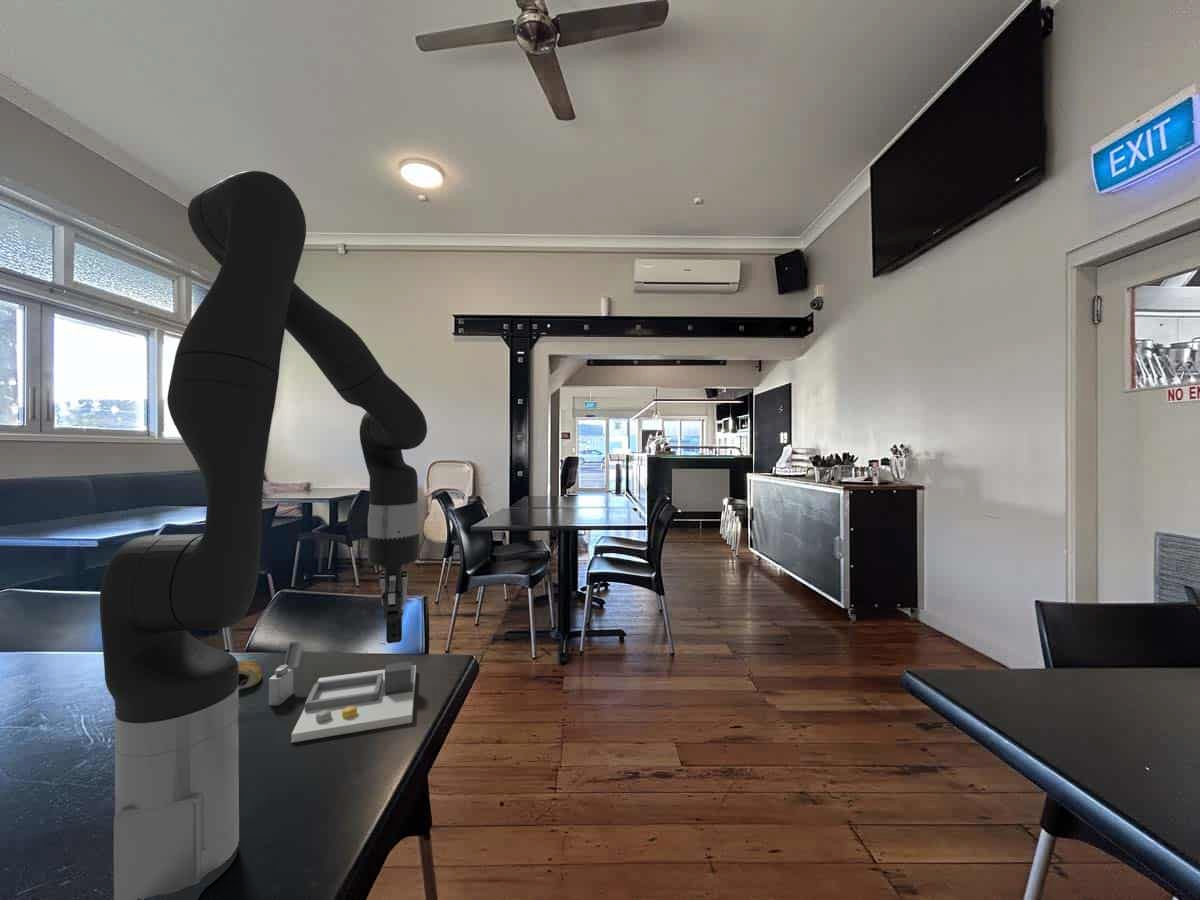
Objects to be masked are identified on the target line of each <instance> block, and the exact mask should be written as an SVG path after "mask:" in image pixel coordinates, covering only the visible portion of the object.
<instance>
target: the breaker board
mask: <svg viewBox="0 0 1200 900" xmlns="http://www.w3.org/2000/svg"><path fill="white" fill-rule="evenodd" d="M385 669H386V668H385ZM385 669H379V670H371V671H370V670H369V671H362V672H355V673H348V674H342V675H341V674H340V675H332V676H325V677H319V678H318V679H317V681H315V682H314V684H313V686H312V689H311V690H310V692H309V695H308V696H307V698H306V700H305V703H304V707H303V710H302V712H301V714H300V716H299V718H298V720H297V722H296V724H295V726H294V729H293V730H292V732H291V735H290V736H291V738H290V739H291V742H290V743H291V744H292V743H299V742H303V741H309V740H315V739H316V740H317V739H322V738H328V737H333V736H339V735H346V734H351V733H359V732H362V731H368V730H369V731H370V730H374V729H375V730H376V729H383V728H387V727H388V728H389V727H393V726H399V725H406V724H411V723H413V715H414V714H413V713H414V703H415V687H416V675H417V666H416V664H415V665H411V690H406V691H399V692H392V693H386V694H385Z"/></svg>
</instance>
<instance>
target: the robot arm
mask: <svg viewBox="0 0 1200 900" xmlns="http://www.w3.org/2000/svg"><path fill="white" fill-rule="evenodd" d="M187 207H188V208H187V218H188V221H189V222H188V223H189V225H190V227H191V230H192V232H193V234H194V235H195V237H196V238H197V240H198V241H199V243H200V244H201V245H202V247H203V248H204V249H205V250H206V251H207V252H208V253H209V254H210V256H211V257H213V259H214V260H216V262H217V264H219V265H220V269H219V271H218V273H217V276H216V278H215V280H214V282H213V284H212V285H211V287H210V288H209V290H208V292H207V293H206V295H205V296H204V298H203V299H202V301H201V302H200V303H199V305H198V307H197V308H196V310H195V312H194V313H193V315H192V317H191V318H190V321H189V322H188V324H187V326H186V328H185V329H184V331H183V334H182V336H181V337H180V340H179V343H178V345H177V349H176V352H175V355H174V360H173V365H172V371H171V375H170V380H169V385H168V390H167V397H166V398H167V401H166V402H167V407H168V408H167V409H168V411H169V414H170V417H171V419H172V421H173V425H174V426H175V428H176V429H177V432H178V434H179V435H180V437H181V439H182V440H183V443H184V445H186V447H187V449H188V451H189V452H190V453H191V456H192V457H193V459H194V461H195V463H196V465H197V466H198V468H199V471H200V473H201V476H202V478H203V481H204V485H205V491H206V513H205V524H204V530H203V533H193V534H192V533H191V534H189V533H187V534H186V533H185V534H184V533H183V534H155V535H145V536H139V537H136V538H133V539H131V540H129V541H127V542H125V543H124V544H123V545H122V546H120V547H119V548H118V549H117V550H116V551H115V552H114V554H113V555H112V557H111V558H110V559H109V562H108V563H107V566H106V568H105V571H104V572H103V573H104V574H103V576H102V581H101V586H100V593H99V616H100V619H99V620H100V628H101V629H100V630H101V631H100V632H101V642H102V653H103V655H102V656H103V666H104V667H103V668H104V671H103V672H104V680H105V685H106V687H107V690H108V692H109V694H110V696H111V697H112V699H113V701H114V714H115V715H114V717H115V718H114V725H115V728H114V729H115V731H114V732H115V733H114V734H115V736H114V737H115V739H114V741H115V743H114V745H115V746H114V755H115V756H114V790H115V792H114V794H115V795H114V799H115V800H114V801H115V802H114V803H115V804H114V810H115V811H114V815H115V816H114V818H113V900H137V899H145V898H148V897H152V896H156V895H161V894H168V893H169V894H170V893H172V892H176V891H179V890H181V889H183V888H185V887H187V886H191V885H195V884H198V883H199V882H200V881H201V879H202V878H203V877H204V876H206V874H208V873H209V872H211V871H212V870H214V869H216V868H218V867H219V866H221V865H222V864H223V863H225V861H226V860H228V859H229V858H230V857H231V856H232V854H233V853H234V851H235V850H236V848H237V846H238V842H239V843H240V811H239V810H240V807H239V804H240V802H239V799H240V798H239V797H240V795H239V788H240V786H239V783H240V782H239V775H240V774H239V690H238V684H239V668H238V662H237V661H238V660H237V658H236V657H235V656H234V655H233V654H231V653H230V652H227V651H225V650H222V649H218V648H216V647H213V646H210V645H208V644H205V643H203V642H201V641H200V640H198V639H197V638H195V637H194V636H193V635H192V634H191V633H190V631H205V630H207V631H209V630H220V629H227V628H230V627H232V626H234V625H236V624H238V623H239V622H240V621H241V620H242V619H243V618H244V617H245V615H246V613H247V612H248V611H249V609H250V606H251V604H252V602H253V599H254V598H255V593H256V589H257V585H258V579H259V574H260V565H261V564H260V562H261V560H260V559H261V549H262V548H261V545H262V543H261V542H262V522H263V521H262V520H263V517H262V515H263V495H264V493H263V491H264V481H265V480H264V479H265V471H266V470H265V469H266V461H267V454H268V446H269V438H270V432H271V429H272V427H271V426H272V422H273V415H274V409H275V406H276V399H277V391H278V385H279V379H280V378H279V377H280V367H281V366H280V365H281V355H282V348H283V342H284V337H285V330H286V331H287V332H288V333H289V334H290V336H292V337H293V339H294V340H295V341H296V342H297V343H298V344H299V345H300V346H301V348H302V349H303V350H304V351H305V352H306V353H307V354H308V355H309V356H310V358H311V360H313V362H314V363H315V364H316V365H317V367H318V368H319V370H320V371H321V372H322V373H323V375H324V376H325V378H326V379H327V380H328V382H329V383H330V384H331V385H332V387H333V388H334V389H335V391H336V392H337V393H338V395H339V396H340V397H341V398H342V399H343V400H344V401H345V402H346V403H348V404H350V405H353V406H356V407H359V408H361V409H363V410H364V411H365V413H364V415H363V416H362V419H361V421H360V425H359V439H360V440H359V441H360V447H361V450H362V455H363V459H364V463H365V466H366V469H367V473H368V477H369V484H368V485H369V505H368V507H369V508H368V515H367V562H368V563H369V565H371V566H375V567H383V568H384V572H382V571H381V572H380V573H381V574H380V577H379V589H380V590H381V606H382V607H383V619H384V621H386V623H385V624H386V628H385V629H386V634H385V635H386V643H388V644H394V643H396V644H397V643H399V642H401V641H402V638H403V616H404V612H405V609H404V606H405V604H406V600H407V586H408V579H409V571H408V569H407V570H404V565H409V564H413V563H415V562H417V561H418V560H419V559H420V510H419V502H418V501H419V494H418V493H419V491H418V490H419V489H418V487H419V485H418V483H419V481H418V473H417V470H416V469H415V467H412V466H411V465H408V464H407V463H406V462H405V460H404V457H403V452H402V451H403V450H404V451H405V450H412V449H415V448H417V447H419V446H421V444H422V443H423V442H424V441H425V440H426V436H427V433H428V425H427V421H426V417H425V414H424V413H423V411H422V410H421V408H420V406H418V404H417V403H416V402H415V401H414V399H412V398H411V396H409V395H408V393H407V392H405V391H404V390H403V389H402V388H401V387H400V386H399V385H398V384H397V383H396V382H395V381H393V380H392V379H391V378H390V377H389V376H388V375H387V374H386V373H385V371H384V370H383V368H382V366H381V365H380V363H379V362H378V360H377V359H376V357H375V356H374V354H373V353H372V351H371V350H370V349H369V347H368V345H367V344H366V343H365V341H364V340H363V339H362V338H361V337H360V335H359V334H358V333H357V332H356V330H354V329H353V328H352V327H350V326H349V325H348V324H347V323H346V322H344V321H343V319H340V318H339V317H338V316H337V315H335V314H333V313H332V311H331V312H330V311H329V310H328V309H327V308H325V307H324V306H322V305H321V304H320V303H318V302H317V301H315V300H314V299H313V298H312V297H311V296H309V295H308V294H307V293H306V292H305V291H303V290H302V288H300V286H298V285H297V283H295V280H296V276H297V272H298V269H299V265H300V261H301V258H302V254H303V251H304V247H305V242H306V239H307V238H306V236H307V223H306V216H305V213H304V209H303V207H302V205H301V202H300V200H299V199H298V197H297V195H296V193H295V192H294V191H293V190H292V188H291V187H290V186H289V184H287V183H286V182H285V181H284V180H282V179H281V178H279V177H278V176H276V175H274V174H272V173H269V172H267V171H261V170H247V171H243V172H238V173H235V174H232V175H230V176H227V177H225V178H224V179H222V180H221V181H218V182H217V183H215V184H212V185H211V186H209V187H207V188H206V189H204V190H202V191H200V192H198V193H197V194H196V195H195V196H194V197H193V198H192V199H191V200H190V202H189V204H188V206H187Z"/></svg>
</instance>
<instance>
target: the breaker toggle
mask: <svg viewBox="0 0 1200 900" xmlns="http://www.w3.org/2000/svg"><path fill="white" fill-rule="evenodd" d="M411 666H412V661H407V662H397V663H390V664H386V665H385V694H386V693H392V692H399V691H406V690H411Z"/></svg>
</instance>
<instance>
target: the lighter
mask: <svg viewBox="0 0 1200 900" xmlns="http://www.w3.org/2000/svg"><path fill="white" fill-rule="evenodd" d="M303 646H304V643H303V642H301V641H290V642H289V643H288V646H287V647H288V648H287V651H286V656H285V660H284V663H283V664H282V665H280V666H278V667H277V668H276V669H275V670H274V672H275V673H274V675H272V676H271V677H269V679H268V705H269V706H281V704H283V702H285V701H286V700H287V699H288V698H290V697H291V696H292V695H293V694H294V669H298V668H299V664H300V659H301V655H302V650H303Z"/></svg>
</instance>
